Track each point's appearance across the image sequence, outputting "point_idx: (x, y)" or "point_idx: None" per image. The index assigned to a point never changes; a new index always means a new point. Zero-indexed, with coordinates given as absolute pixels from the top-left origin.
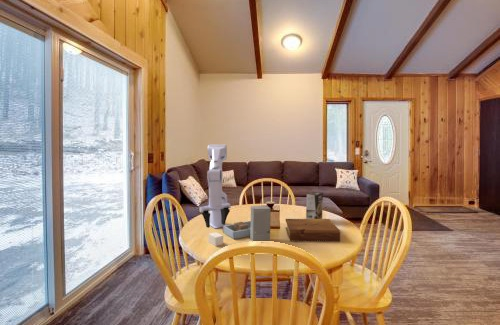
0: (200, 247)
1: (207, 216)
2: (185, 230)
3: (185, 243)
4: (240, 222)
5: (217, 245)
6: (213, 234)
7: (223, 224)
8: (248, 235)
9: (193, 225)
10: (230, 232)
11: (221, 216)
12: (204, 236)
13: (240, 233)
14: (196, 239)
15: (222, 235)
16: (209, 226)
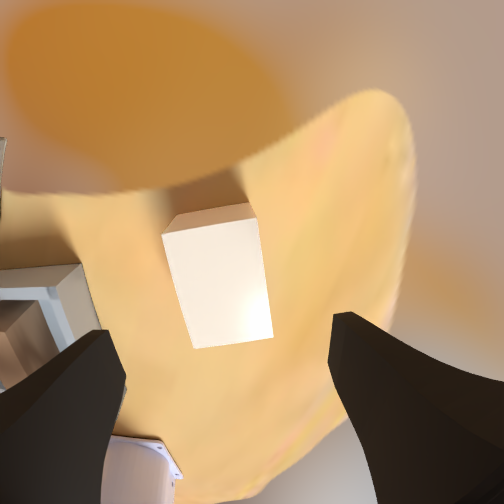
0: (353, 233)
1: (502, 397)
2: (300, 456)
3: (388, 331)
4: (10, 384)
5: (230, 206)
6: (239, 308)
7: (108, 336)
8: (2, 271)
9: (246, 480)
10: (80, 327)
11: (103, 456)
12: (250, 388)
13: (25, 279)
14: (313, 365)
15: (165, 243)
16: (342, 318)
